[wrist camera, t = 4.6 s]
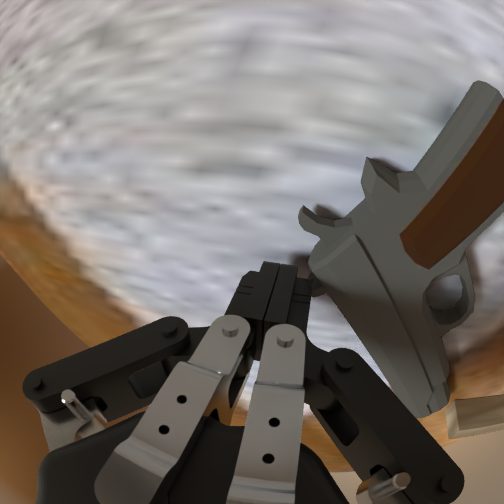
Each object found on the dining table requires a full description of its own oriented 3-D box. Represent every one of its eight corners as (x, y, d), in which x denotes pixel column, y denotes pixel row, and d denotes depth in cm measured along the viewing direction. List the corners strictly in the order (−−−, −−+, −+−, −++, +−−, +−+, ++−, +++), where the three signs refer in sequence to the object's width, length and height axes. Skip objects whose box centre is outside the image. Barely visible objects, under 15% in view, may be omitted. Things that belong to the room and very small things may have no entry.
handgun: (530, 335, 12) (399, 397, 18) (481, 71, 7) (260, 199, 12) (542, 362, 10) (400, 427, 15) (516, 70, 4) (243, 227, 10)
